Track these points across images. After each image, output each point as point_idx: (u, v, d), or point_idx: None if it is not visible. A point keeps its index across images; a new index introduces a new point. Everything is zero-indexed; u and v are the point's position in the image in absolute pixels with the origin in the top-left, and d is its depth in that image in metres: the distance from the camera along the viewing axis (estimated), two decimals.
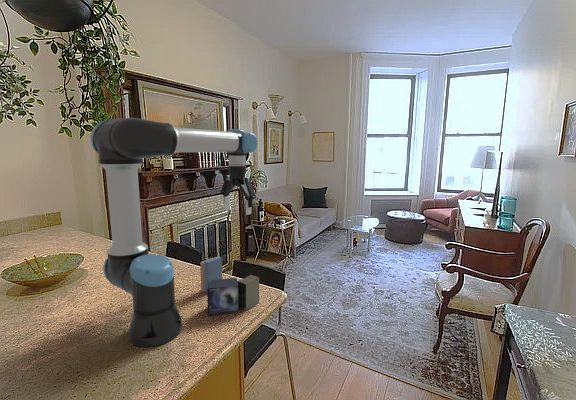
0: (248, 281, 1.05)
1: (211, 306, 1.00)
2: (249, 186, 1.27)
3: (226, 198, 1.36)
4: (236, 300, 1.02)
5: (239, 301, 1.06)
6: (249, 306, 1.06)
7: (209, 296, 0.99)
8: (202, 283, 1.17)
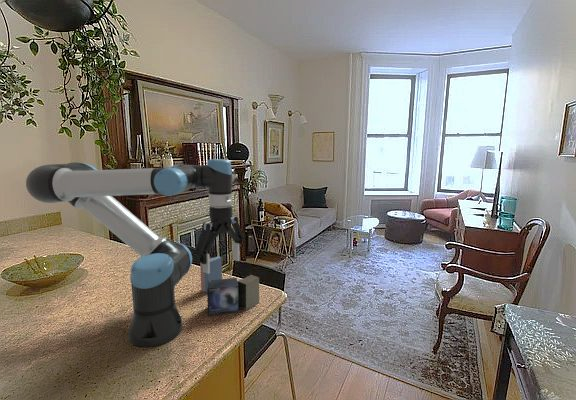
0: (248, 281, 1.05)
1: (211, 306, 1.00)
2: (201, 236, 0.94)
3: (233, 245, 1.07)
4: (236, 300, 1.02)
5: (239, 301, 1.06)
6: (249, 306, 1.06)
7: (209, 296, 0.99)
8: (202, 283, 1.17)
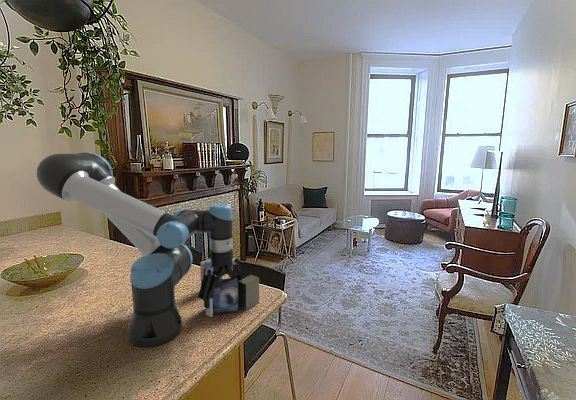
0: (248, 281, 1.05)
1: None
2: (203, 281, 0.97)
3: None
4: (236, 300, 1.02)
5: (239, 301, 1.06)
6: (249, 306, 1.06)
7: None
8: None
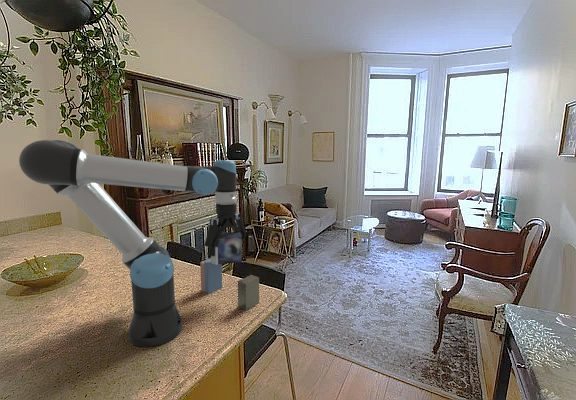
0: (248, 281, 1.05)
1: None
2: (209, 230, 1.04)
3: None
4: (240, 250, 1.10)
5: (239, 301, 1.06)
6: (249, 306, 1.06)
7: None
8: (202, 283, 1.17)
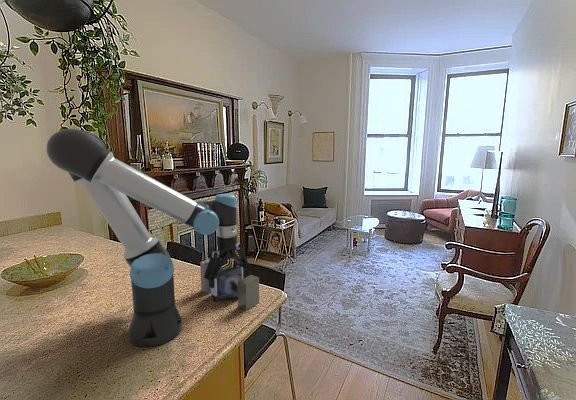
0: (248, 281, 1.05)
1: (217, 292, 1.10)
2: (209, 263, 1.06)
3: None
4: None
5: (239, 301, 1.06)
6: (249, 306, 1.06)
7: None
8: (202, 283, 1.17)
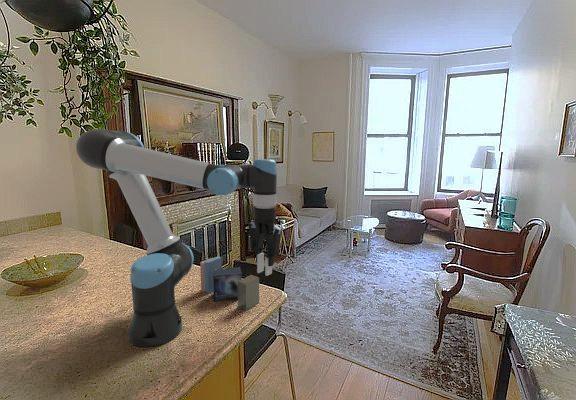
0: (248, 281, 1.05)
1: (217, 292, 1.10)
2: (276, 241, 0.96)
3: (260, 256, 1.01)
4: None
5: (239, 301, 1.06)
6: (249, 306, 1.06)
7: (215, 283, 1.09)
8: (202, 283, 1.17)
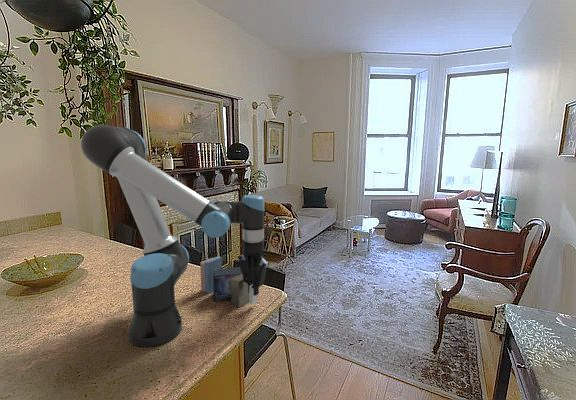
0: (241, 279, 1.07)
1: (217, 292, 1.10)
2: (262, 273, 1.01)
3: None
4: None
5: (232, 298, 1.08)
6: (242, 303, 1.08)
7: (215, 283, 1.09)
8: (202, 283, 1.17)
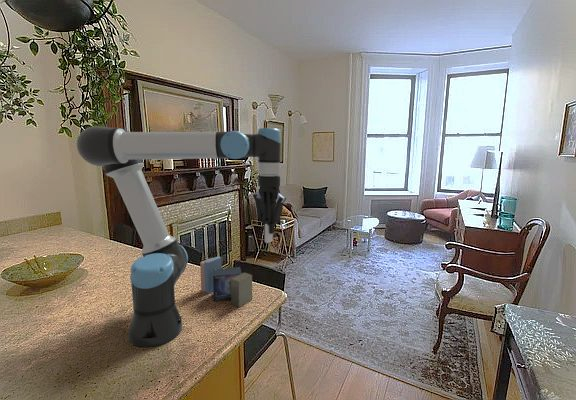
0: (241, 279, 1.07)
1: (217, 292, 1.10)
2: (279, 209, 0.99)
3: None
4: None
5: (232, 298, 1.08)
6: (242, 303, 1.08)
7: (215, 283, 1.09)
8: (202, 283, 1.17)
